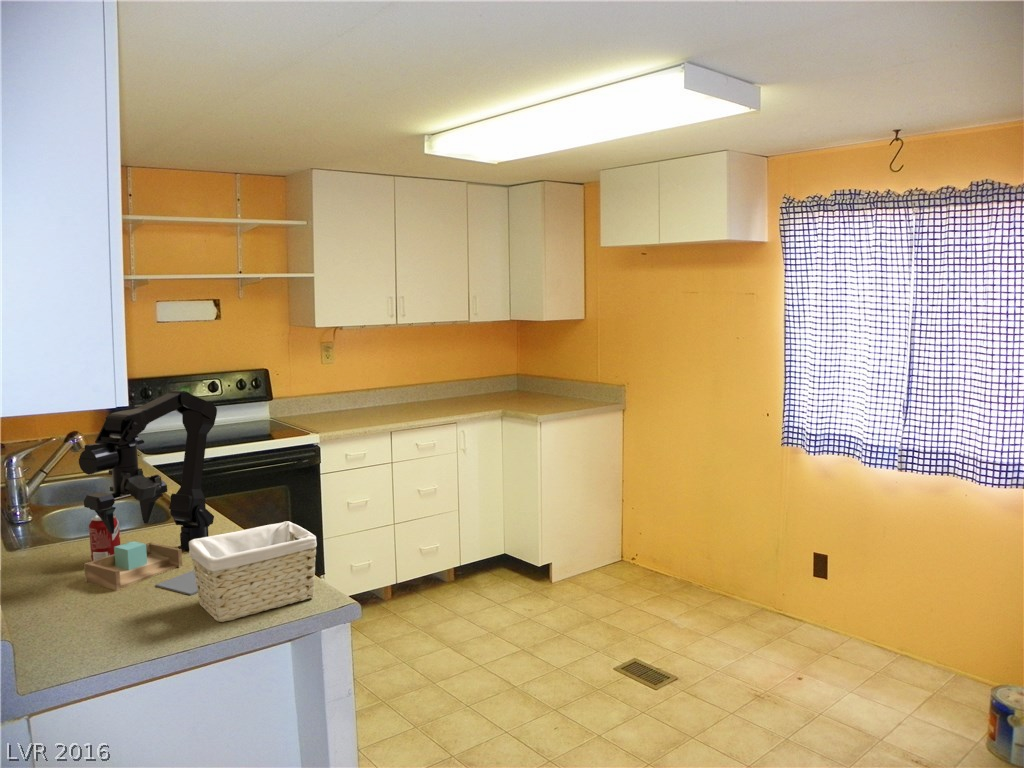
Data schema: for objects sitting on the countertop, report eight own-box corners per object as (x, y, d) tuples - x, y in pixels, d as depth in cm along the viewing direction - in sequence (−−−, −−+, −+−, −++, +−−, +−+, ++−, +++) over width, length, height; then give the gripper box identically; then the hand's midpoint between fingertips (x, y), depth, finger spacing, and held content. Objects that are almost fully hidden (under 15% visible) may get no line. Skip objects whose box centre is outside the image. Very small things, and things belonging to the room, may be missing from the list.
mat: (197, 570, 197) (197, 568, 197) (232, 578, 191) (232, 576, 191) (155, 586, 186) (155, 584, 186) (190, 595, 181) (190, 593, 181)
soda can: (109, 568, 199) (106, 521, 197) (85, 566, 200) (82, 519, 199) (127, 559, 205) (124, 513, 204) (104, 557, 207) (101, 512, 205)
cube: (133, 560, 198) (132, 541, 198) (147, 563, 196) (145, 544, 195) (115, 566, 194) (114, 546, 193) (128, 570, 191) (127, 550, 191)
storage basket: (212, 628, 164) (209, 558, 162) (189, 603, 176) (185, 538, 175) (322, 599, 178) (319, 535, 176) (293, 579, 191) (290, 519, 189)
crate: (151, 559, 205) (150, 542, 204) (182, 566, 200) (181, 549, 199) (85, 582, 189) (84, 563, 189) (116, 590, 184) (115, 571, 183)
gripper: (110, 477, 180) (115, 544, 182) (180, 461, 196) (184, 522, 198) (80, 472, 185) (85, 537, 187) (150, 456, 201) (154, 516, 203)
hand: (129, 528), depth 194 cm, fingers open, 9 cm apart
